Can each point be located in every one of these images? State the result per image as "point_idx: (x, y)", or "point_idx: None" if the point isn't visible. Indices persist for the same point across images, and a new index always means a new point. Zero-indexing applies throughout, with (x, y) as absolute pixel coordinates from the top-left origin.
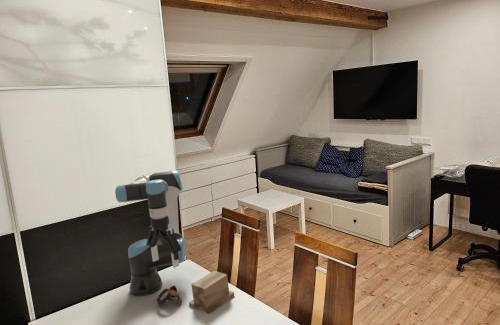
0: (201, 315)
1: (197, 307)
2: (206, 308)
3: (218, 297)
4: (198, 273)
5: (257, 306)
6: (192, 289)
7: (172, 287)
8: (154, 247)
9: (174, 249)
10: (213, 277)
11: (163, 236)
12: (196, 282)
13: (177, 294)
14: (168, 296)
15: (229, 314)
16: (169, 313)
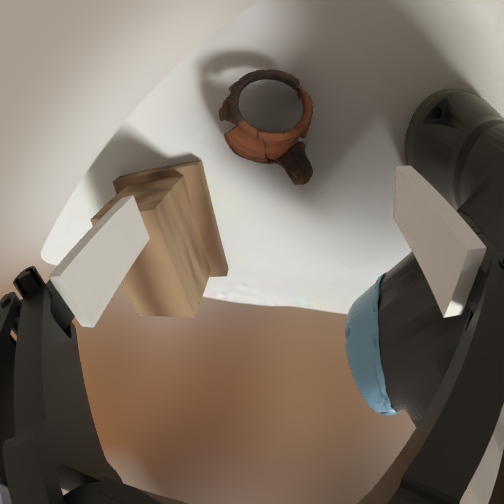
0: (125, 157)
1: (159, 169)
2: (125, 183)
3: None
4: (357, 298)
5: None
6: (160, 198)
7: (291, 166)
8: (451, 279)
9: (4, 313)
10: (147, 286)
11: (10, 488)
12: (154, 231)
13: (237, 152)
14: (230, 109)
15: (89, 211)
16: (214, 86)
